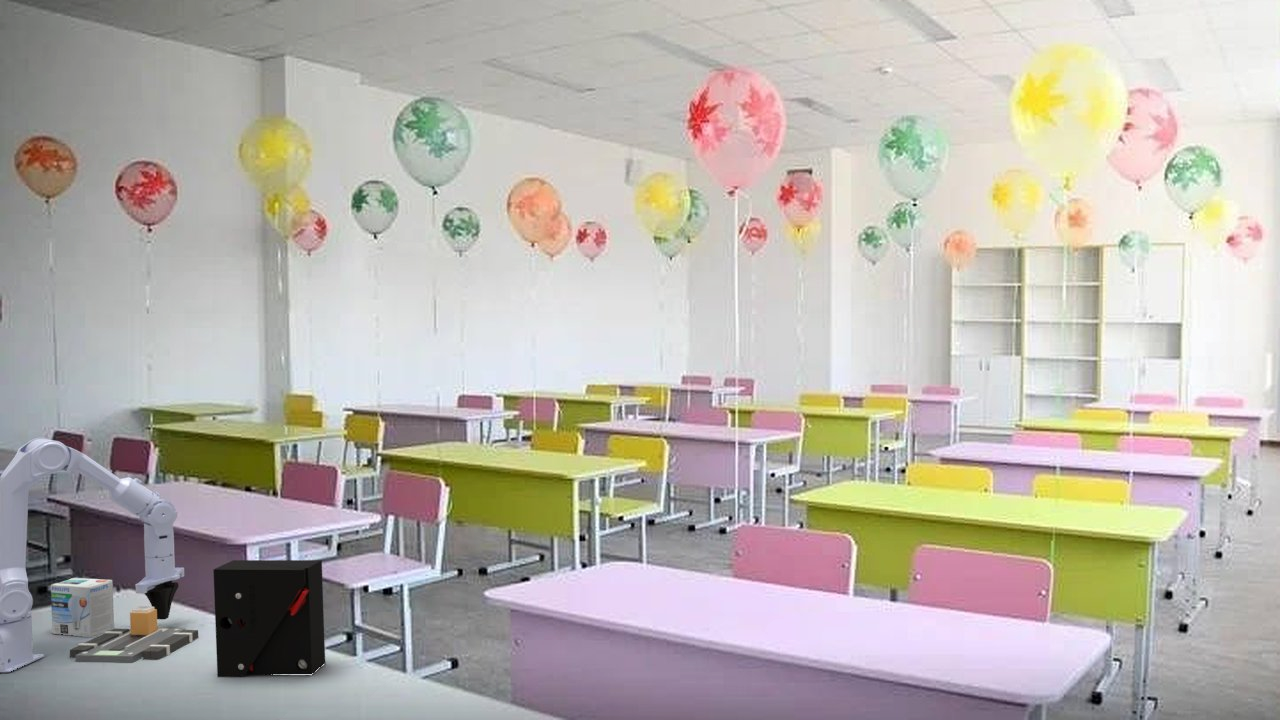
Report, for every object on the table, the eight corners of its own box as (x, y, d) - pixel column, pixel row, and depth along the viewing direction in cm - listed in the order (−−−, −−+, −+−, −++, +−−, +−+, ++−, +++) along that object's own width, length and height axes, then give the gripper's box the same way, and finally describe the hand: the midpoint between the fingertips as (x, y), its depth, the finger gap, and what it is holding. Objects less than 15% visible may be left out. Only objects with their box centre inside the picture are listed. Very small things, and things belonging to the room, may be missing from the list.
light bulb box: (50, 634, 219) (48, 584, 219) (76, 625, 226) (74, 576, 225) (91, 637, 216) (88, 587, 216) (115, 628, 223) (113, 579, 222)
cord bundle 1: (86, 658, 203) (86, 649, 202) (68, 657, 203) (68, 648, 203) (130, 636, 216) (130, 627, 216) (113, 636, 217) (113, 627, 217)
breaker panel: (132, 662, 199) (132, 652, 199) (75, 661, 201) (75, 651, 201) (185, 634, 217) (184, 625, 217) (132, 633, 218) (132, 624, 218)
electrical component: (329, 661, 197) (326, 557, 197) (307, 679, 187) (303, 570, 187) (242, 660, 199) (238, 557, 198) (215, 678, 189) (211, 570, 188)
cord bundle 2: (159, 659, 201) (159, 650, 200) (141, 659, 201) (141, 650, 201) (199, 637, 214) (199, 629, 214) (182, 637, 215) (182, 628, 215)
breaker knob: (148, 634, 211) (147, 610, 211) (130, 634, 212) (129, 610, 211) (157, 630, 214) (156, 606, 214) (139, 630, 214) (138, 606, 214)
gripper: (156, 563, 211) (159, 628, 211) (196, 547, 225) (198, 609, 226) (125, 563, 212) (127, 628, 212) (166, 547, 226) (168, 608, 227)
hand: (162, 618), depth 219 cm, fingers closed
